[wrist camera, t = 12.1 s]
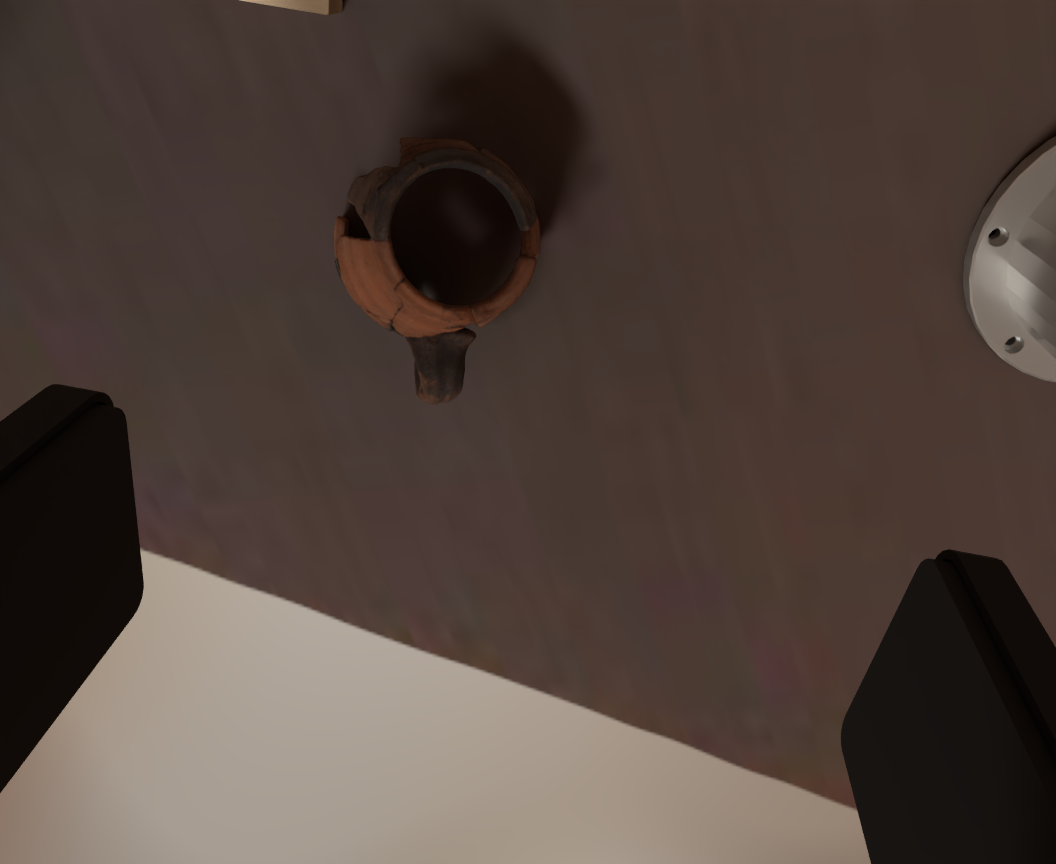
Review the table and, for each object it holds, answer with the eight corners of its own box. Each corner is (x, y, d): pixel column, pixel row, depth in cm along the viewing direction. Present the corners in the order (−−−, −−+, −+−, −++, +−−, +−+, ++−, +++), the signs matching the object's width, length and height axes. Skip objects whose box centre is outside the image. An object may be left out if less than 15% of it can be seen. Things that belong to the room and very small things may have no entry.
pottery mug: (307, 160, 41) (327, 137, 33) (495, 141, 43) (553, 116, 36) (351, 404, 44) (378, 435, 36) (525, 372, 46) (584, 394, 39)
